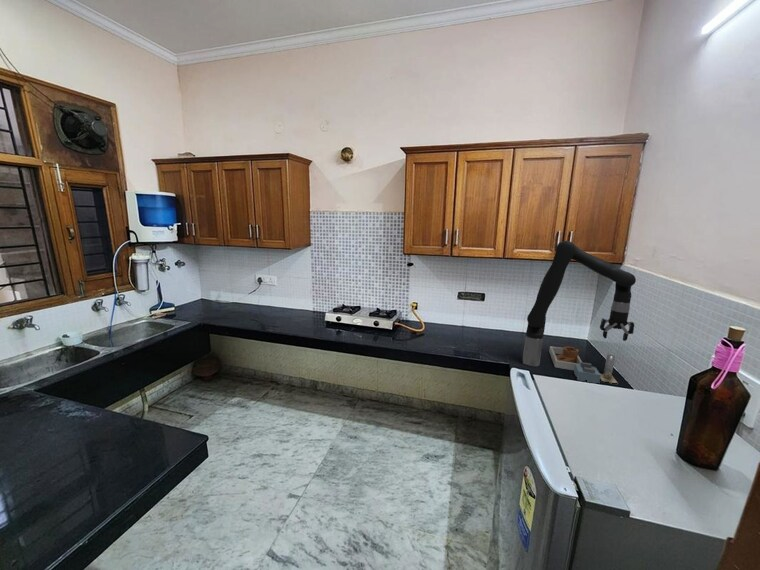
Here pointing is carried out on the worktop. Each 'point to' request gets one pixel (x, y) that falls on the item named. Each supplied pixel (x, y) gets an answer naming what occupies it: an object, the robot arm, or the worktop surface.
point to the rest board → (607, 379)
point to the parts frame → (561, 363)
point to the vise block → (587, 373)
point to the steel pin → (609, 366)
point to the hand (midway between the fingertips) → (614, 339)
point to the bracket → (568, 355)
